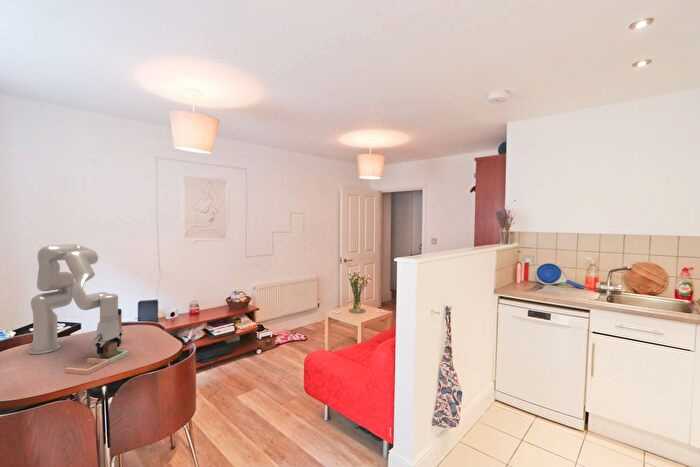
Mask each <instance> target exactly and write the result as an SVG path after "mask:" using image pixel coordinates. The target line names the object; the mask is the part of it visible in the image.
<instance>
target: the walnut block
mask: <svg viewBox="0 0 700 467" xmlns="http://www.w3.org/2000/svg"><path fill="white" fill-rule="evenodd" d="M103 346H104V353H103V354H99V359H110V358H112V357H114V356H117V350H118V347H117V342H111V341H109V342H104V344H103Z"/></svg>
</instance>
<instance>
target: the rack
mask: <svg viewBox="0 0 700 467" xmlns="http://www.w3.org/2000/svg"><path fill="white" fill-rule="evenodd" d="M129 352H130V351H129V350H122V349H117V356H114V357H112V358H110V359H100V357H99V358H97V357H96V358H95V357H89V358H88V357H87V359H86V362H87V364H96V365H94V366H92V367H89V368H88V369H87V368H78V367H77V368H76V367H75V368H74V367H66V368H64V373H65V374H73V375H84V376H85V375H87V376H88V375H90V374H92V373H94V372H96V371H99V370H100V369H102V368H104V367H106V366H108V365H111V364H113V363H114V362H116V361H119V360H120V359H122V358H124V357H126V356H128V355H129V354H130V353H129ZM129 356H130V355H129Z"/></svg>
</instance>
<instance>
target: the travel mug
mask: <svg viewBox="0 0 700 467" xmlns="http://www.w3.org/2000/svg"><path fill="white" fill-rule="evenodd" d="M122 312H123V311H122V309H121V308H118V320H119V326H120V329H123V328H122V326H123V325H122V317H123V316H122ZM113 340H114V338H113V339H111V340H109V341H111V342H113ZM109 341H106V342H109ZM106 342H105V343H106ZM121 343H122V338H121V339H120V344H121Z"/></svg>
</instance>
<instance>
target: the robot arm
mask: <svg viewBox="0 0 700 467" xmlns="http://www.w3.org/2000/svg"><path fill="white" fill-rule="evenodd" d="M36 257H37V263H38V270H37V278H36V279H37V280H36V288H37V289H38V291H41V292H43V293H40V294H36V295H35V296H33V297H32V298H31V299H30V300H31V301H30V307H31V310H32V317H33V318H32V319H33V320H32V321H33V322H32V324H33V325H32V326H33V327H32V329H33V330H32V331H33V334H32V335H33V336H32V337H33V338H32V342H31V343H28V346H29V347H31V349H29V351H28V353H29V354H30V355H43V354H48V353H51V352H55V351H57V350H59V349H61V348H62V345H61V344H60V343H58V314H56V312H54V310H55V309H59V308H63V307H67V306H69V305H70V304H71V303H72V300H73V302H75V305H76V306H77V307H78V308H79V309H80V310H82V311H88V310H89V311H90V310H93V309H97V308H99V321H98V322H97V326H96V335H95V337H94V339H92V343H93V345H94V346H95V348H96V354H97V355H100V354H103V353H104V346H103V344H104V343H106V341H109V340H111V339H113V338H114V340H113V342H117V348H119V347H120V346H121V343H120V339H121V340H122V335H123V332H124V329H123V328H122V329H120V326H119V320H118V309H119V296H118V294H116V293H109V292H103V291H101V292H96V293H95V292H94V293H91V294H86V291H85V289H84V285H85V283H86V282H87V281H89V280H91V279H93V278H94V276H95V274H96V273H95V271H94V269H93V267H92V266H91V265H94V264H96V263H97V262H98V260H99V256H98V253H97V252H96V251H95V250H93V249H92V248H89V247H86V246H84V245H81V244H75V243H74V244H73V243H71V244H52V245H46V246H42V247H41V248H40V249H39V250H38V252H37V256H36ZM58 261H65V263H66V265H67V267H68V269H69V271H70V272H69V271H60V270H61V265H60V263H59V262H58Z"/></svg>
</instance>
